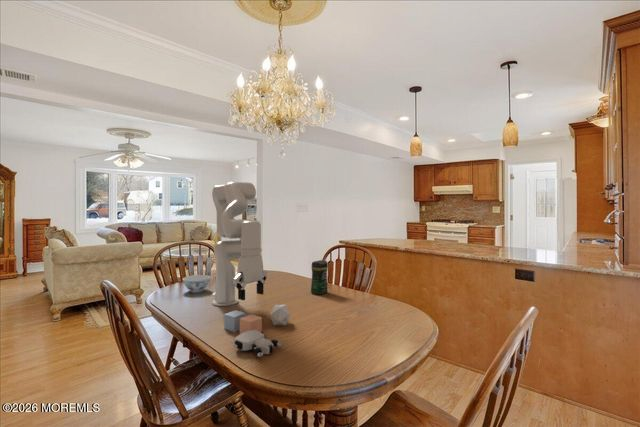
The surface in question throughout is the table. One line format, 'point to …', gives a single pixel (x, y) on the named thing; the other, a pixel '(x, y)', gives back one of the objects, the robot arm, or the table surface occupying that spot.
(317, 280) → the coffee jar
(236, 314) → the slate block
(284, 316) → the die
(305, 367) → the table surface
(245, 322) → the terracotta block
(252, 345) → the robot toy
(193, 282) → the chinaware
